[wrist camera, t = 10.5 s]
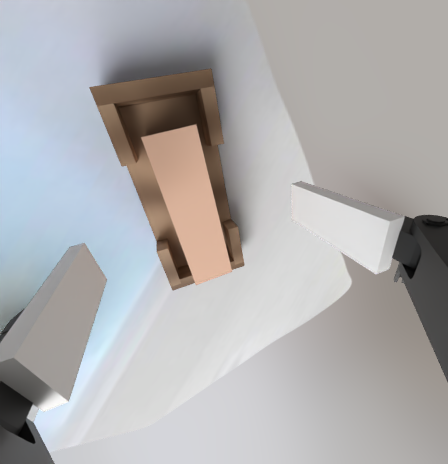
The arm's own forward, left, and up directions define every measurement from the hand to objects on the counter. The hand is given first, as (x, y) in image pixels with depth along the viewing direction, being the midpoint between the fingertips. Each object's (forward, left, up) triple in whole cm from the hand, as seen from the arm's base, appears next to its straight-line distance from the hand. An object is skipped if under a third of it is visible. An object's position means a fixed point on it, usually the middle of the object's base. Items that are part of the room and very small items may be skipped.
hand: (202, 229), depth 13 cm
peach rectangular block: (+1, 0, -11) cm, 11 cm away
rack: (0, 0, -11) cm, 11 cm away
